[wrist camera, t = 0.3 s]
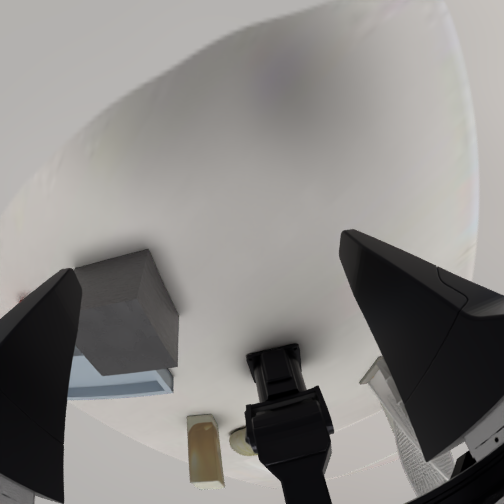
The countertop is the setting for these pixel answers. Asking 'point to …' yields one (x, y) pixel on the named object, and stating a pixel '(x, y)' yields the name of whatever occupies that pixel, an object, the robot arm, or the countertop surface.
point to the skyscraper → (407, 434)
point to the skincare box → (204, 453)
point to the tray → (114, 382)
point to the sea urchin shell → (240, 443)
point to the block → (126, 316)
